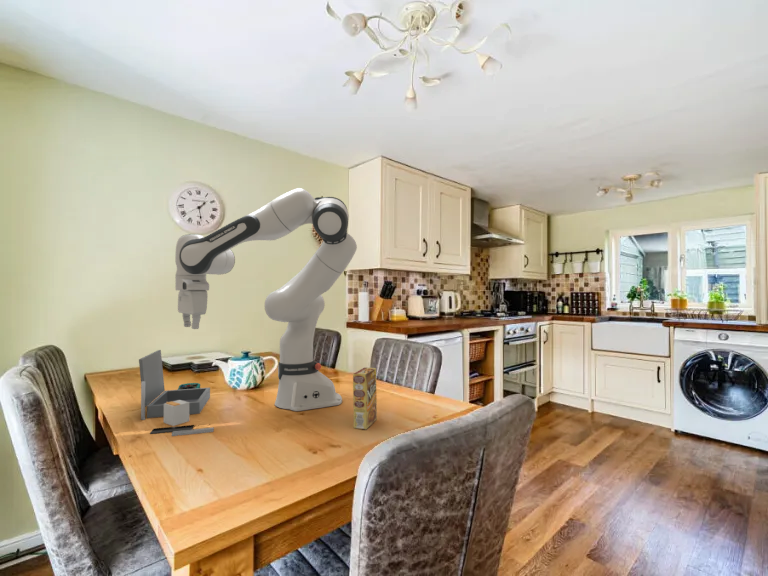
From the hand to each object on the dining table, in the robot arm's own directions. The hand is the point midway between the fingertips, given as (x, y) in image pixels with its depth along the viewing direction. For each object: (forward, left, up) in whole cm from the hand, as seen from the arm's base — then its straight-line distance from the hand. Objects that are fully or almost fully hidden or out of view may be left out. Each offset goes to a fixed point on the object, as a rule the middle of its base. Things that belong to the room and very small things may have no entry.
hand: (191, 327), depth 119 cm
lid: (+11, -1, -15) cm, 18 cm away
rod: (-5, +22, -27) cm, 35 cm away
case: (+3, -1, -26) cm, 27 cm away
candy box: (-51, +28, -27) cm, 64 cm away
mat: (+1, +14, -26) cm, 30 cm away
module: (+1, +14, -26) cm, 30 cm away
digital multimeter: (+6, -22, -27) cm, 35 cm away
